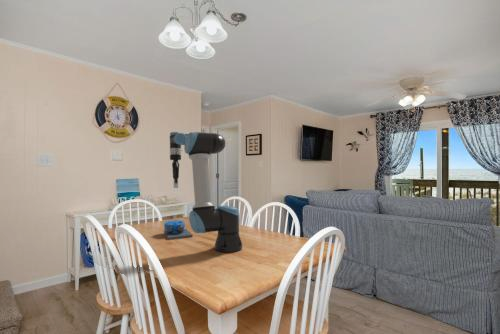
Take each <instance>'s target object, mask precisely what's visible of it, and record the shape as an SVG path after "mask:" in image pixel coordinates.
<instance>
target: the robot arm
mask: <svg viewBox="0 0 500 334" xmlns="http://www.w3.org/2000/svg"><path fill="white" fill-rule="evenodd" d="M182 146H183V147H184V153H185V154H187V155H188V158H189V159H190V160H191V165H192V167H191V168H192V180H193V193H194V205H192V208H191V209H192V210H191V211H190V212H189V214H188V215H189V216H188V219H189V220H188V221H189V225H190V228H191V230H192V231H193V232H194V233H195V234H206V233H212V232H217V236H216V239H215V243H214V250H215V251H216V252H219V253H235V252H238V251H241V250H242V249H243V242H242V239H241V237H240V210H239V208H238V207H235V206H232V205H218V206H217V207H215V204H213V203H212V193H211V183H210V170H209V159H210V157H211V155H215V154H219V153H221V152H222V151H224V150H225V147H226V140H225V138H224V136H222V135H220V134H218V133H211V132H201V131H191V132H189V133H183V132H179V131H172V132H171V131H170V133H169V160H170V161H172V164H171V166H172V167H171V168H172V178H173V189H179V177H180V176H179V174H180V163H179V161H181V159H182V155H181V154H182Z"/></svg>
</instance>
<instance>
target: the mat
mask: <svg viewBox="0 0 500 334" xmlns="http://www.w3.org/2000/svg"><path fill="white" fill-rule="evenodd" d="M163 234H164V236H165V237H166V238H167V240H168V241H169V240H177V239H178V240H179V239H186V238H193V234H192V232H190V231H189V230H188V229H187V228H185V231H184V232H182V233H179V234H167V233H165V232H163Z"/></svg>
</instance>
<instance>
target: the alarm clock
mask: <svg viewBox="0 0 500 334" xmlns="http://www.w3.org/2000/svg"><path fill="white" fill-rule="evenodd" d="M163 225H164V228H163V229H164V232H165V233H167V234H179V233H182V232H184V231H185V229H186V227H185V226H186V222H185V221H184V220H168V221H165V222H164V223H163ZM164 232H163V233H164Z"/></svg>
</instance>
